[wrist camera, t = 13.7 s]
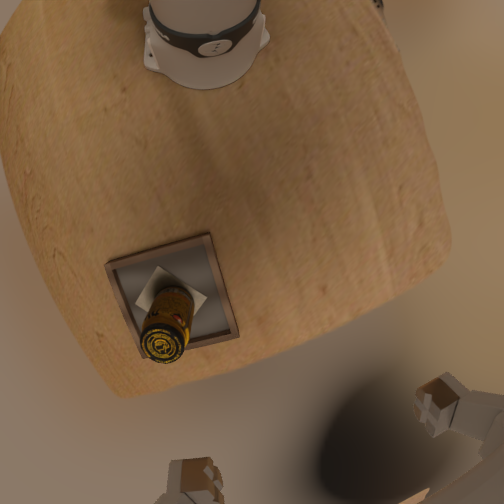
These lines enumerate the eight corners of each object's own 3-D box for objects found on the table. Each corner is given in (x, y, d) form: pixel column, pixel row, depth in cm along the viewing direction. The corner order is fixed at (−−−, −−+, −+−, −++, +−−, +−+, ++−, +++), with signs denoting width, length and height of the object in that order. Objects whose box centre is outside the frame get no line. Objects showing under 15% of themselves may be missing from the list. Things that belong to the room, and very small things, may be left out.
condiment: (181, 332, 43) (172, 379, 31) (135, 303, 41) (110, 342, 30) (207, 296, 42) (204, 337, 31) (158, 265, 40) (137, 295, 29)
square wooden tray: (109, 261, 40) (103, 265, 38) (209, 232, 41) (209, 234, 39) (145, 351, 44) (142, 358, 42) (238, 330, 45) (239, 337, 43)
